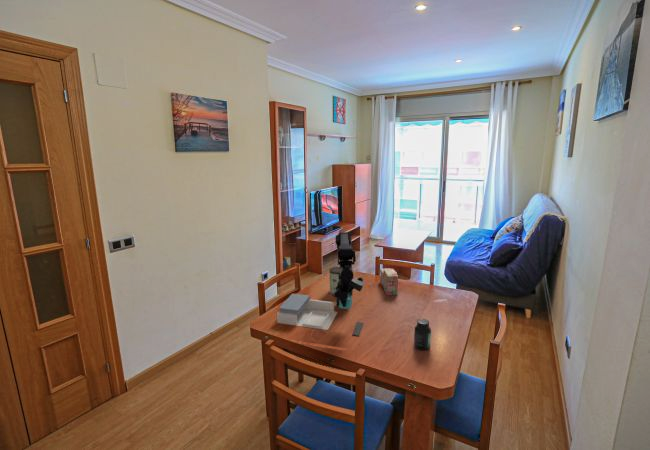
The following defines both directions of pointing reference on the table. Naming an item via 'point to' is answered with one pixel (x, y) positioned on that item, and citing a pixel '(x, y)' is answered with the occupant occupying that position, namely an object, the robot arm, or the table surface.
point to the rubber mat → (358, 329)
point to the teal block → (348, 303)
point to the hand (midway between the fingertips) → (345, 304)
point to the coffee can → (334, 278)
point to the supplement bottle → (422, 335)
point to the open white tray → (311, 315)
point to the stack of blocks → (389, 281)
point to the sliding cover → (294, 303)
